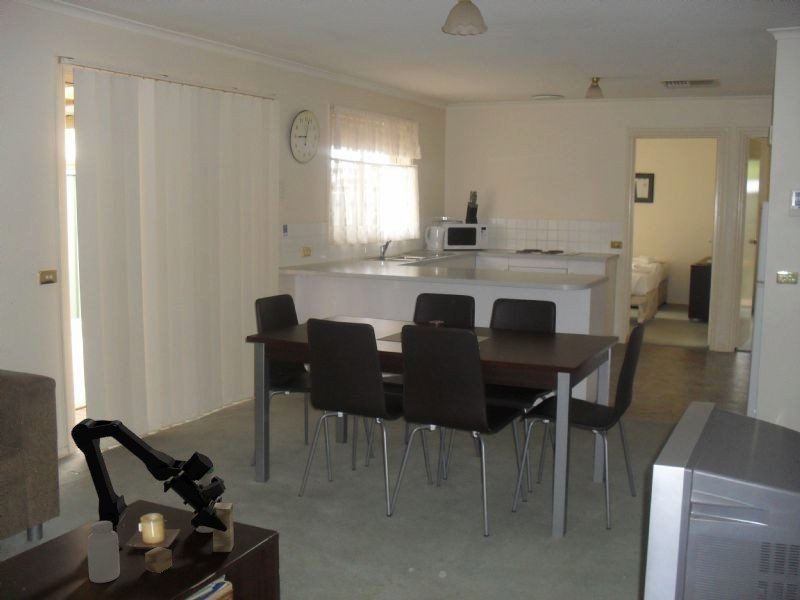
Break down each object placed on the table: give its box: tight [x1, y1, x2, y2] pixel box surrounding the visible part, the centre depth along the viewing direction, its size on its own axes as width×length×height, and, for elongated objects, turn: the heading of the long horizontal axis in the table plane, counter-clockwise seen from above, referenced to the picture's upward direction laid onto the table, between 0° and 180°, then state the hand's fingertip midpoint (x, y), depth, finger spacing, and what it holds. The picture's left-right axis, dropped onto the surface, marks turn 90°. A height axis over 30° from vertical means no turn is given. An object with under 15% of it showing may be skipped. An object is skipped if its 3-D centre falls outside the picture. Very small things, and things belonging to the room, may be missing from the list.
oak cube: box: [144, 546, 173, 574], centre depth 224 cm, size 5×5×5 cm
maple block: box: [212, 502, 235, 553], centre depth 236 cm, size 5×5×13 cm
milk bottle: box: [193, 466, 220, 534], centre depth 250 cm, size 8×8×20 cm
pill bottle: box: [86, 521, 121, 584], centre depth 218 cm, size 8×8×15 cm
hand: (227, 526), depth 236 cm, fingers closed on maple block, 5 cm apart
